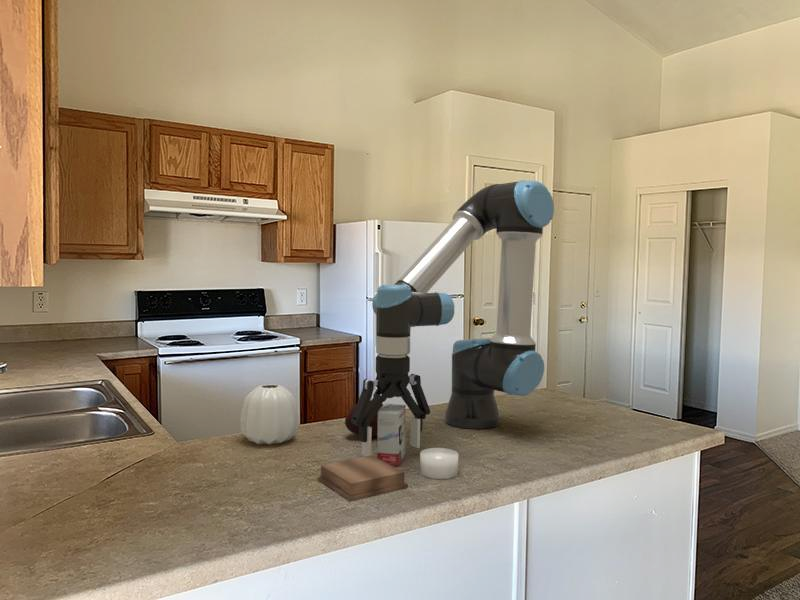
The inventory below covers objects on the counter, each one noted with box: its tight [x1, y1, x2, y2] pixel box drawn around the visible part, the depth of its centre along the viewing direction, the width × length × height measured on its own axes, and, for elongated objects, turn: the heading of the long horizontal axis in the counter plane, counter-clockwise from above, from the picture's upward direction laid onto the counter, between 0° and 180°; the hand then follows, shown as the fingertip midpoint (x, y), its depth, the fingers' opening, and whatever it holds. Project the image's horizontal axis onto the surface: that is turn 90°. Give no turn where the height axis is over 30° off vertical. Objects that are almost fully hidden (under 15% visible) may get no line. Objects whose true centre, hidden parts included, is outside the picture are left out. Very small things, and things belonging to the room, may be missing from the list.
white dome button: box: [419, 447, 459, 480], centre depth 129 cm, size 8×8×4 cm
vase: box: [239, 383, 300, 445], centre depth 150 cm, size 14×14×13 cm
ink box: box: [376, 403, 407, 467], centre depth 136 cm, size 9×5×12 cm, turn 168°
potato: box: [344, 399, 384, 438], centre depth 154 cm, size 9×12×9 cm
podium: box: [317, 455, 409, 502], centre depth 122 cm, size 13×13×3 cm
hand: (391, 451), depth 137 cm, fingers open, 12 cm apart
